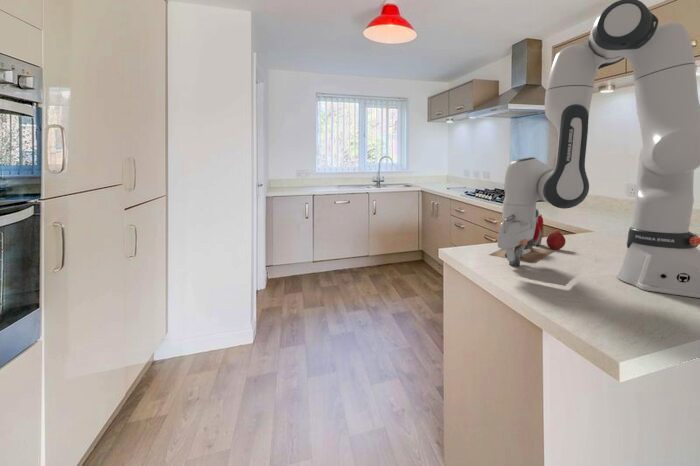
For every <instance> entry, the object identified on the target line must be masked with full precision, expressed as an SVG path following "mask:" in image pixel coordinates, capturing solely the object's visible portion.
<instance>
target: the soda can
mask: <svg viewBox="0 0 700 466" xmlns="http://www.w3.org/2000/svg"><path fill="white" fill-rule="evenodd" d="M543 228H544V217H543V214H541V213H539V216H538V217H537V218H536V227H535V233H534V238H533V245H537V246H540V245H541V244H542V239H543Z"/></svg>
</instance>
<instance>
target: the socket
mask: <svg viewBox="0 0 700 466" xmlns="http://www.w3.org/2000/svg"><path fill="white" fill-rule="evenodd" d="M533 238H534V236H533ZM533 248H534V246H533V239H531V240H529V241H527V245H525V248H524V250H526V249H531V250H532V249H533Z"/></svg>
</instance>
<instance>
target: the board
mask: <svg viewBox="0 0 700 466" xmlns="http://www.w3.org/2000/svg"><path fill="white" fill-rule="evenodd" d="M553 253H555V251H554V250H548V249H541V248H535V247H533V249H532V250H531V251H530V252H529V253H527V254H523V256H521V258H520V262H521V261H522V262H527V263H533V264H537V263H539V262H540V261H541V260H543V259H545V258H546V257H548V256H550V255H551V254H553ZM505 254H506V249H501V248H499V249H498V250H496V251H494V252H492V253H489V254H488V256H491V257H498V258H504V259H507V257H505Z"/></svg>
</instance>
